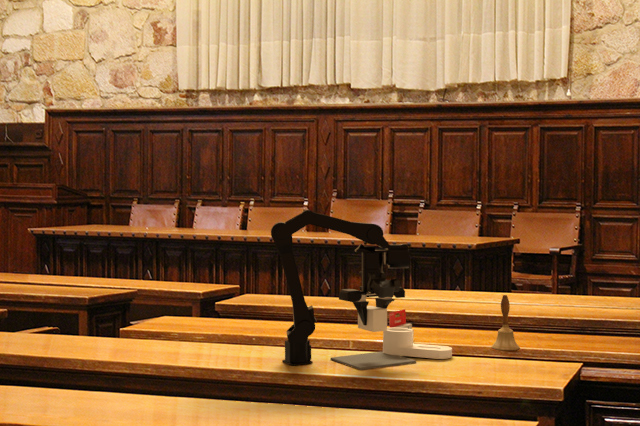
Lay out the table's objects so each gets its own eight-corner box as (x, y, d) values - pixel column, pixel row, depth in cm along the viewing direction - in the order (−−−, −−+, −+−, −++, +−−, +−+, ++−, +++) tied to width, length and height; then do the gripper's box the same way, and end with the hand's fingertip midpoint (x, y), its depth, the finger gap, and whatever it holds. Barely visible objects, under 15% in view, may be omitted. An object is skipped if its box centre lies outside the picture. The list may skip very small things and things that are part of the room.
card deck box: (357, 328, 229) (357, 306, 228) (371, 326, 231) (371, 305, 231) (373, 332, 222) (373, 310, 221) (387, 330, 224) (387, 308, 224)
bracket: (379, 353, 233) (379, 330, 233) (387, 349, 241) (387, 326, 241) (448, 359, 227) (449, 335, 227) (454, 354, 235) (454, 331, 235)
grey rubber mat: (360, 370, 215) (360, 367, 215) (330, 359, 229) (330, 357, 229) (416, 362, 224) (416, 360, 224) (383, 353, 238) (383, 351, 238)
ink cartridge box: (412, 339, 260) (412, 309, 260) (395, 345, 251) (395, 313, 251) (405, 339, 262) (405, 308, 262) (388, 344, 252) (388, 313, 252)
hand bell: (520, 350, 240) (520, 297, 240) (491, 350, 242) (491, 296, 241) (519, 345, 248) (518, 293, 248) (491, 344, 250) (491, 293, 249)
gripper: (359, 272, 214) (359, 331, 215) (416, 269, 223) (416, 325, 224) (337, 269, 224) (337, 325, 224) (393, 266, 233) (393, 320, 233)
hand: (372, 324), depth 226 cm, fingers closed on card deck box, 4 cm apart
